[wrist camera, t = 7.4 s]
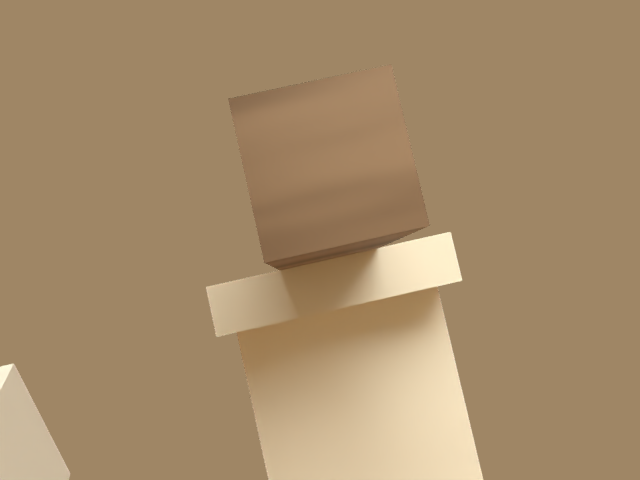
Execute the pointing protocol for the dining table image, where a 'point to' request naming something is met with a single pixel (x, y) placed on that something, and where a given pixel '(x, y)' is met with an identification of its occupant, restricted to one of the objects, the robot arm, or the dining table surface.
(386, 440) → the white pedestal
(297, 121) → the walnut bar
